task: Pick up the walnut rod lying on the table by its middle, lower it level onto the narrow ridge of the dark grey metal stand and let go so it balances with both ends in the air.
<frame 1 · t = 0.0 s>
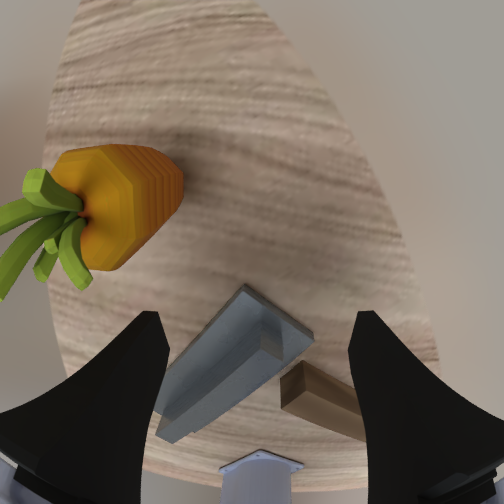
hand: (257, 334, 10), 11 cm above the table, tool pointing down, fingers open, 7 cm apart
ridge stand: (214, 372, 24), on the table
walnut rod: (353, 400, 25), on the table
carrot: (174, 179, 19), on the table
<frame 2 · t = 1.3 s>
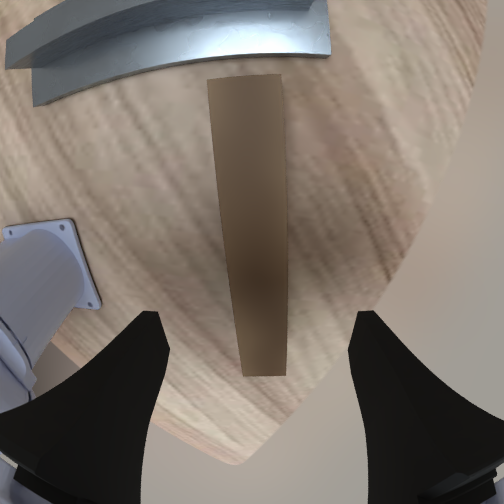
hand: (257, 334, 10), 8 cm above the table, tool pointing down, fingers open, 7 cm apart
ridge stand: (158, 16, 11), on the table
walnut rod: (259, 233, 18), on the table
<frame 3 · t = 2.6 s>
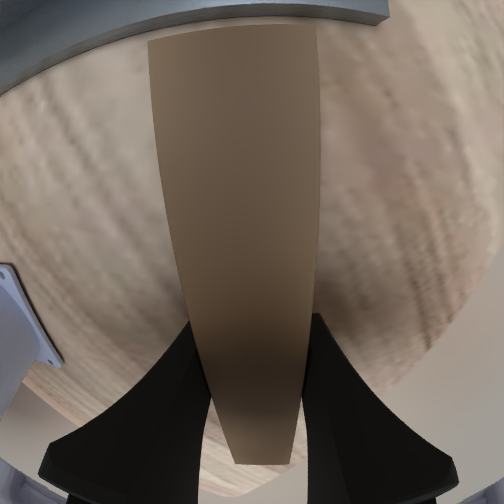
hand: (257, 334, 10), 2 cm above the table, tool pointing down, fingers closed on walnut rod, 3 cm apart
walnut rod: (258, 301, 12), on the table, touching gripper
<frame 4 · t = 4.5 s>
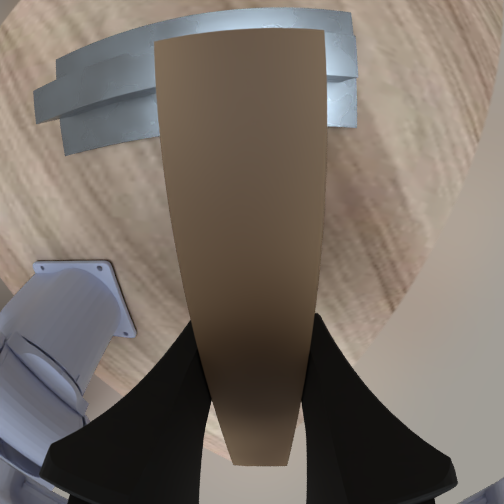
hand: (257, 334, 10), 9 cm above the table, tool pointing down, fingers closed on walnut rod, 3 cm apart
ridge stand: (191, 73, 14), on the table
walnut rod: (259, 304, 12), point 8 cm above the table, touching gripper
when the fingers open (7 cm above the table, at t = 5.9 s): walnut rod stays where it is, resting on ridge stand.
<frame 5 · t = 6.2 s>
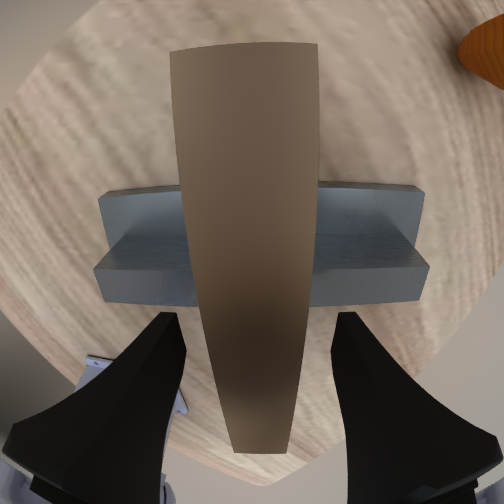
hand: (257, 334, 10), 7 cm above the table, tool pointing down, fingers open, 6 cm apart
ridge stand: (261, 241, 16), on the table
walnut rod: (259, 292, 12), point 5 cm above the table, touching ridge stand
carrot: (458, 58, 10), on the table
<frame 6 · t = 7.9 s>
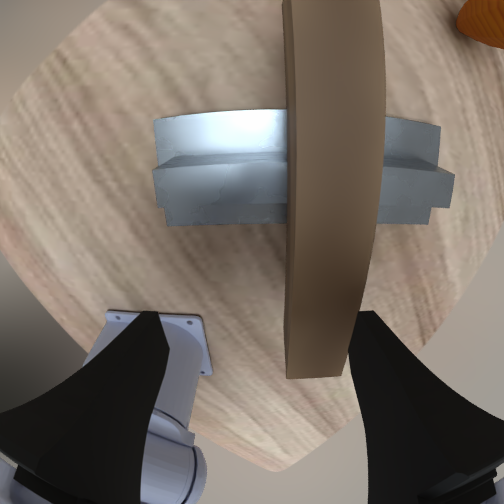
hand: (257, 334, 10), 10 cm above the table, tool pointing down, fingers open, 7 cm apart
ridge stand: (305, 164, 17), on the table
walnut rod: (318, 186, 13), point 5 cm above the table, touching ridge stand
carrot: (456, 28, 11), on the table
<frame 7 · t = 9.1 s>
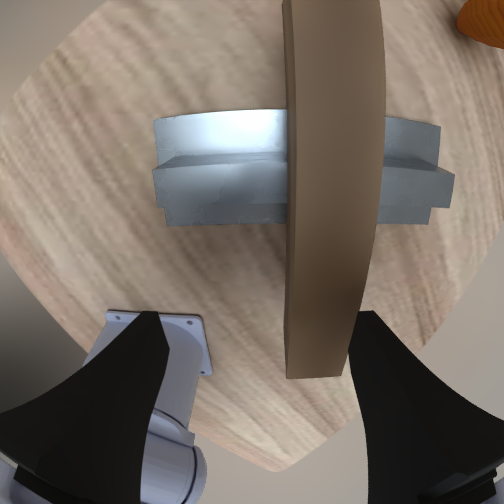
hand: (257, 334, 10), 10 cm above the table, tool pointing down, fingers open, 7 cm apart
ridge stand: (305, 164, 17), on the table
walnut rod: (318, 186, 13), point 5 cm above the table, touching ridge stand
carrot: (456, 28, 11), on the table
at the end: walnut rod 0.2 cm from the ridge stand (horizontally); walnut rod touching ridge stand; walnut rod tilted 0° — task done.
